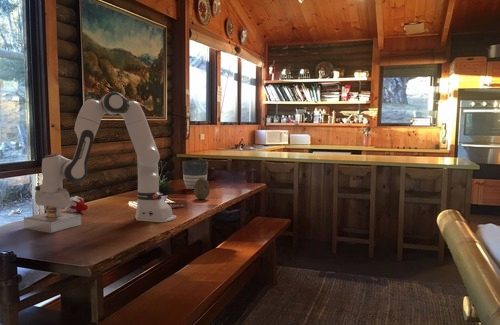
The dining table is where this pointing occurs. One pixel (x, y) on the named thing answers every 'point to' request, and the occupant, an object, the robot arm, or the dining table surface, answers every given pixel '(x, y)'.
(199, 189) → the decorative egg
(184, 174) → the planter
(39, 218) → the bore block
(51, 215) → the small beige jar
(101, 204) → the dining table surface
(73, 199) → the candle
